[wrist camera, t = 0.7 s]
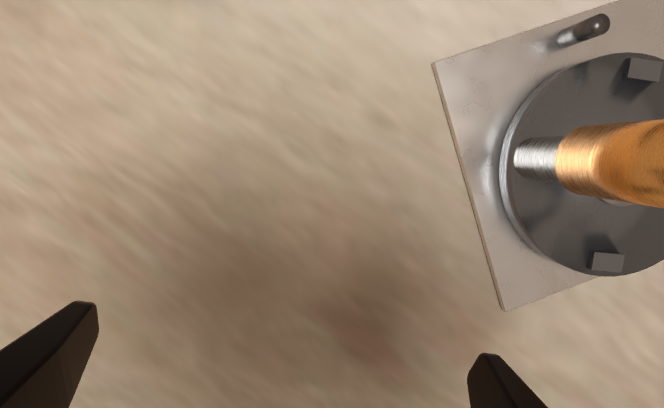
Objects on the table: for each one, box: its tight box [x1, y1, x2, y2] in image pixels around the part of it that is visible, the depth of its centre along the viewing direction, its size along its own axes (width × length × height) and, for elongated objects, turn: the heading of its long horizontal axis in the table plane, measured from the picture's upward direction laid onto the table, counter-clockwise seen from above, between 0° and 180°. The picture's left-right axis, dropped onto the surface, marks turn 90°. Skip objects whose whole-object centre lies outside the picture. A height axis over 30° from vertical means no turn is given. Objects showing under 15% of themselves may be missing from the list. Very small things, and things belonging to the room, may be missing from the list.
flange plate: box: [432, 0, 664, 312], centre depth 23 cm, size 15×15×3 cm
